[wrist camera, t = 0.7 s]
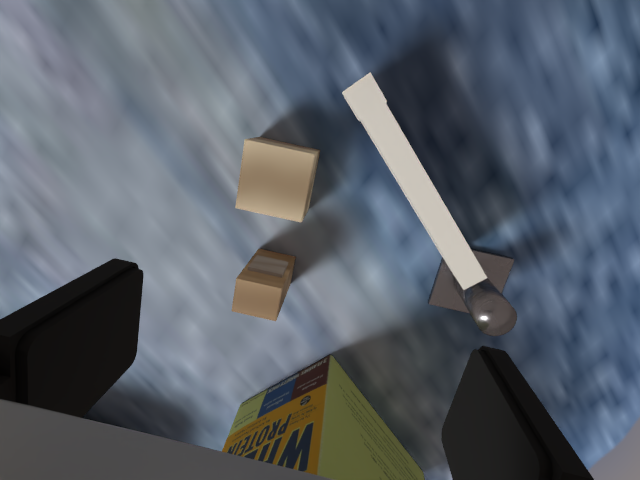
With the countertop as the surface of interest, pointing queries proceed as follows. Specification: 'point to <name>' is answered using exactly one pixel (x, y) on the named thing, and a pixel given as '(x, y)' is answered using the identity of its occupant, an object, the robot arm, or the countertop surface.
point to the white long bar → (413, 179)
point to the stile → (263, 284)
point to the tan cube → (276, 178)
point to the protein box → (320, 429)
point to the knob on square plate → (478, 294)
